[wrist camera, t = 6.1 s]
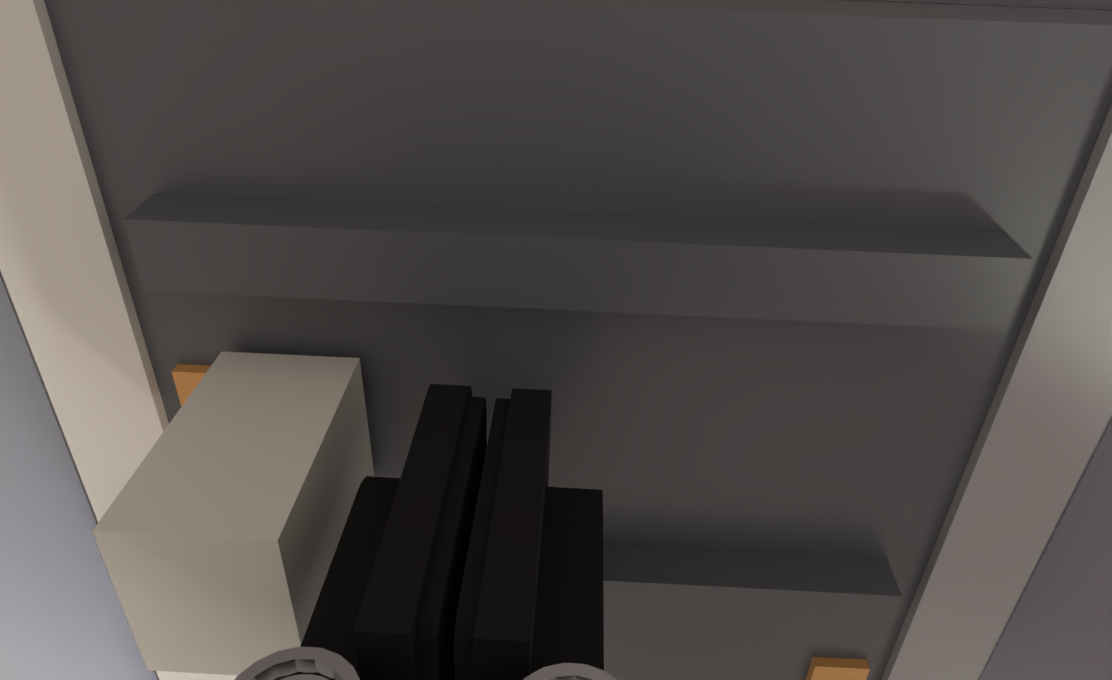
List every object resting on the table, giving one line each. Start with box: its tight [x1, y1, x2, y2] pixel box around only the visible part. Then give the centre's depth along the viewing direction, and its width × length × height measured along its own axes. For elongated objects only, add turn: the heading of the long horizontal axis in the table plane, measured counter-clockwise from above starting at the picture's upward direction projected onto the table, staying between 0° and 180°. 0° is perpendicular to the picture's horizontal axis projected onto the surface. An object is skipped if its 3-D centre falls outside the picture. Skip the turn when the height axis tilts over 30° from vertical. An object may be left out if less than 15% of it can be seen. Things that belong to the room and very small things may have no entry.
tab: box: [92, 351, 374, 675], centre depth 11 cm, size 2×2×4 cm
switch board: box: [0, 0, 1112, 680], centre depth 16 cm, size 24×16×2 cm, turn 178°
